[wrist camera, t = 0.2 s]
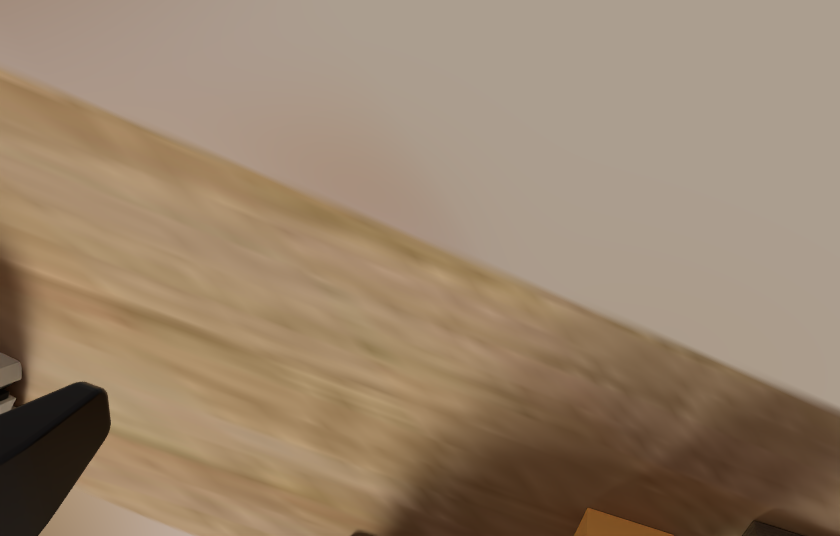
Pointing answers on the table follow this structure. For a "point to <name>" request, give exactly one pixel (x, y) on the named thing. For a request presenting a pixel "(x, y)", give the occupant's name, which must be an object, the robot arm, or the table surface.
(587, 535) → the orange rectangular prism
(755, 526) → the bracket
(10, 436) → the robot arm
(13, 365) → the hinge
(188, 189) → the table surface
